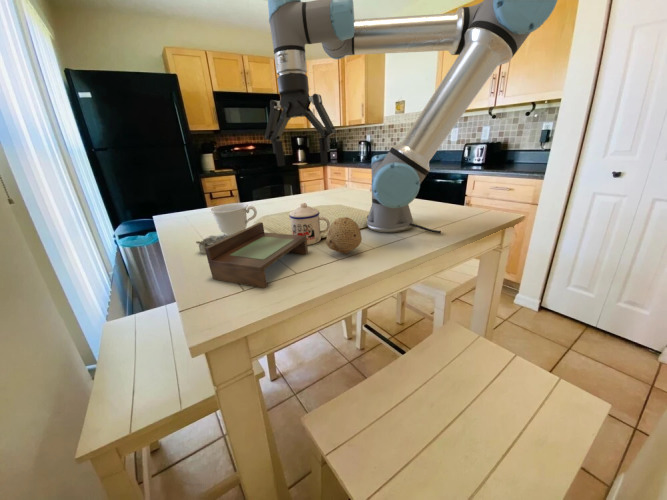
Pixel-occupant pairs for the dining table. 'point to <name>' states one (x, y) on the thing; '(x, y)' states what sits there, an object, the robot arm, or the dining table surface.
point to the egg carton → (210, 242)
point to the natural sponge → (343, 235)
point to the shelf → (251, 254)
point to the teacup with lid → (307, 223)
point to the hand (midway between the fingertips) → (302, 165)
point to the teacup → (232, 217)
